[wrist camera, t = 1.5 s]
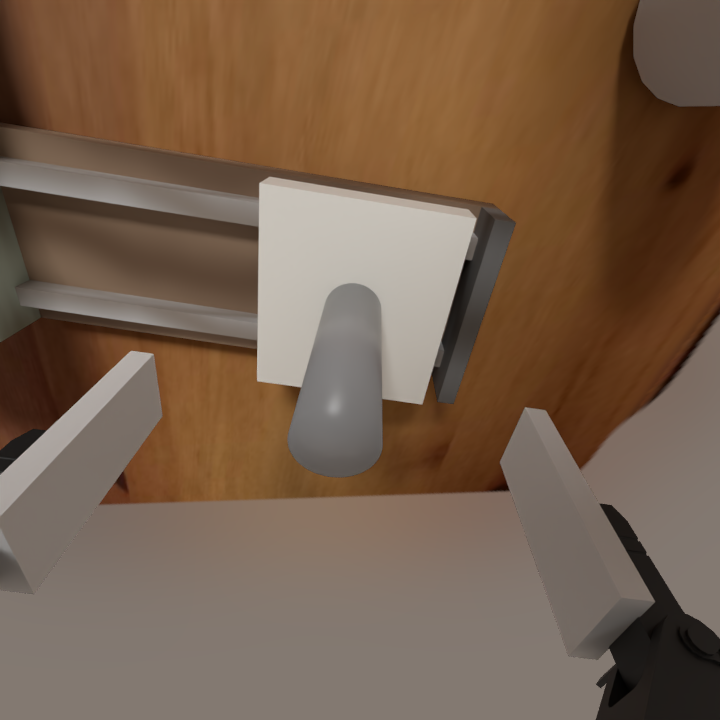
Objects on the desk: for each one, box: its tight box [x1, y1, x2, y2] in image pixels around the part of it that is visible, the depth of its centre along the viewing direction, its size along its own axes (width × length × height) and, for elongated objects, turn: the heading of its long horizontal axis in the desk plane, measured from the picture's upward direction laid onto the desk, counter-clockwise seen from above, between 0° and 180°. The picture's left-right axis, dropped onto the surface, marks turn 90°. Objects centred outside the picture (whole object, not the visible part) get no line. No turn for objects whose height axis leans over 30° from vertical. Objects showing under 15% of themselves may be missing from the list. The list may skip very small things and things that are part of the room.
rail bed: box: [0, 122, 516, 404], centre depth 20 cm, size 12×36×12 cm, turn 82°
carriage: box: [257, 177, 477, 477], centre depth 18 cm, size 11×10×12 cm
